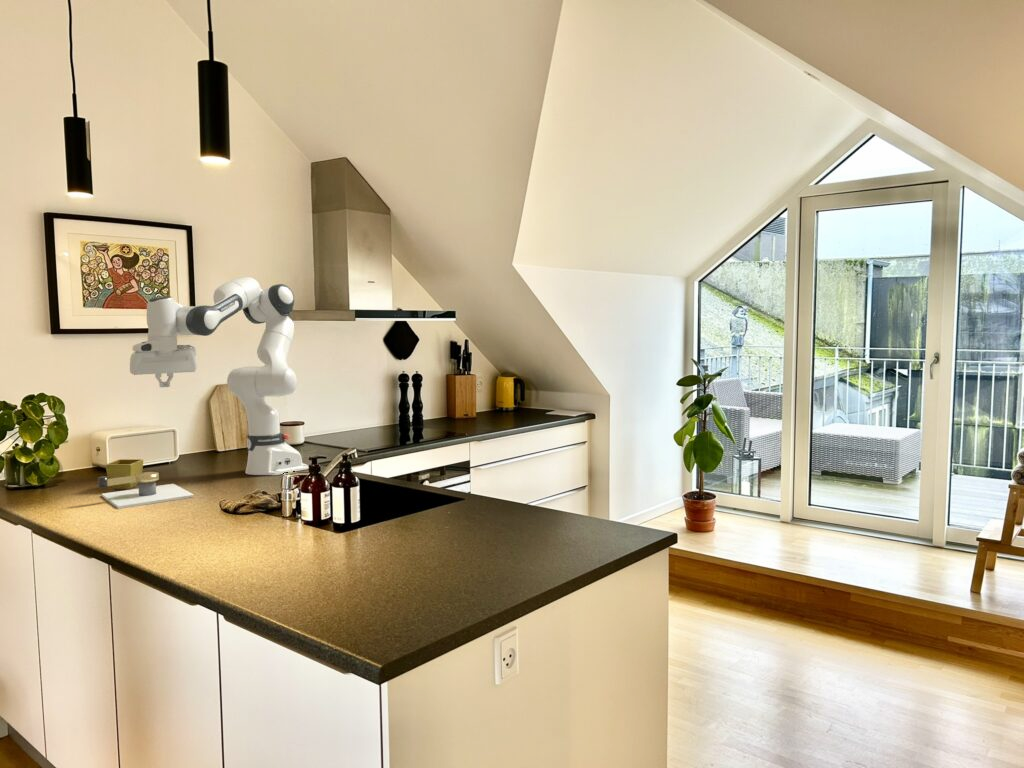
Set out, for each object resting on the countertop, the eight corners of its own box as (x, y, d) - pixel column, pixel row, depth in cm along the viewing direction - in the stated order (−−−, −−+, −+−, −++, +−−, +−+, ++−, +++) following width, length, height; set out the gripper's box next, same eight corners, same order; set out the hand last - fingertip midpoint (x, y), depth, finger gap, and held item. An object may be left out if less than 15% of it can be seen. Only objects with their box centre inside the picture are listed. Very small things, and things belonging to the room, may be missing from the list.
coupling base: (173, 485, 258) (172, 471, 257) (194, 497, 241) (193, 481, 241) (101, 496, 244) (100, 480, 243) (118, 508, 227) (117, 492, 227)
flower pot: (131, 490, 251) (130, 464, 250) (105, 491, 251) (104, 464, 251) (145, 485, 260) (143, 459, 259) (120, 485, 260) (118, 459, 259)
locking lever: (155, 477, 247) (154, 468, 247) (161, 480, 242) (161, 471, 241) (96, 485, 236) (95, 476, 236) (101, 488, 230) (100, 479, 230)
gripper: (192, 344, 259) (194, 384, 260) (127, 346, 246) (129, 388, 247) (198, 344, 254) (200, 385, 256) (132, 346, 241) (134, 389, 242)
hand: (164, 387), depth 251 cm, fingers closed
